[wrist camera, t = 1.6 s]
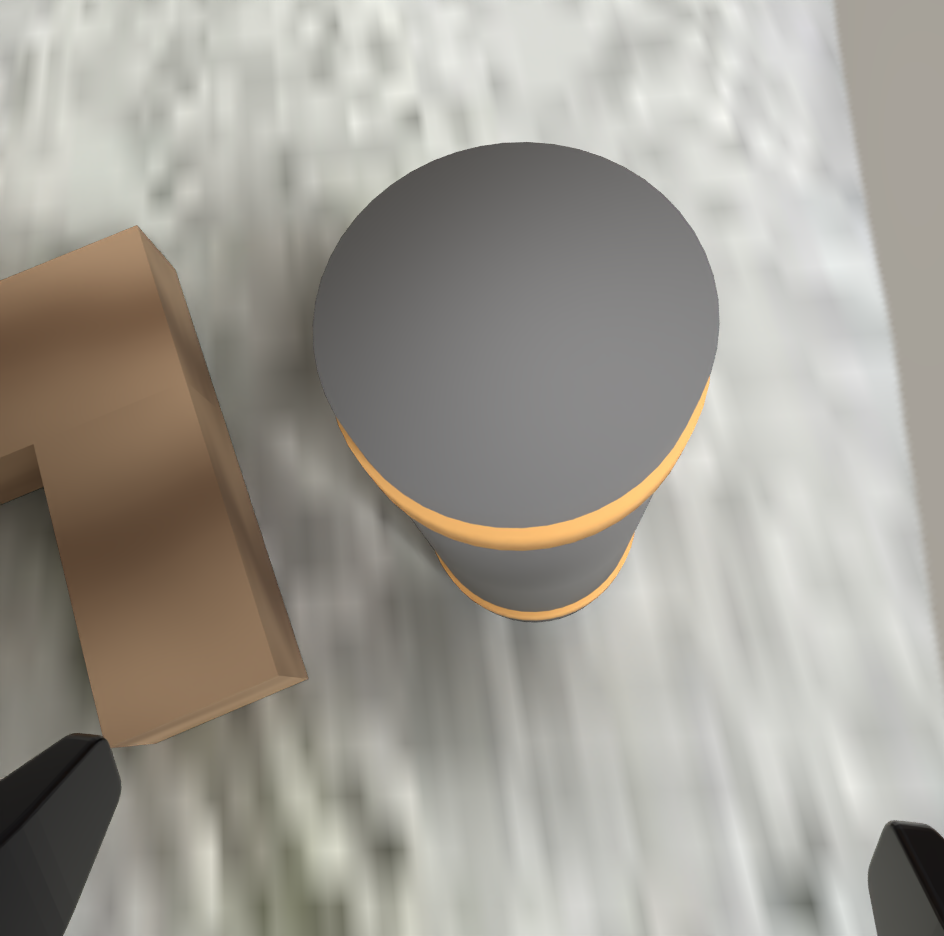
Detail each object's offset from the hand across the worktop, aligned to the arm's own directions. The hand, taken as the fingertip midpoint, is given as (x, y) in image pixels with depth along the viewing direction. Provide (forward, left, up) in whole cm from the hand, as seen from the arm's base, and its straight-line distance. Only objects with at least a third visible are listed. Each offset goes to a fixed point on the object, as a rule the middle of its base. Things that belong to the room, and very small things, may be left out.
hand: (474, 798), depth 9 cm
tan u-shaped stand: (+2, +17, -12) cm, 21 cm away
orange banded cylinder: (+6, +1, -12) cm, 13 cm away
